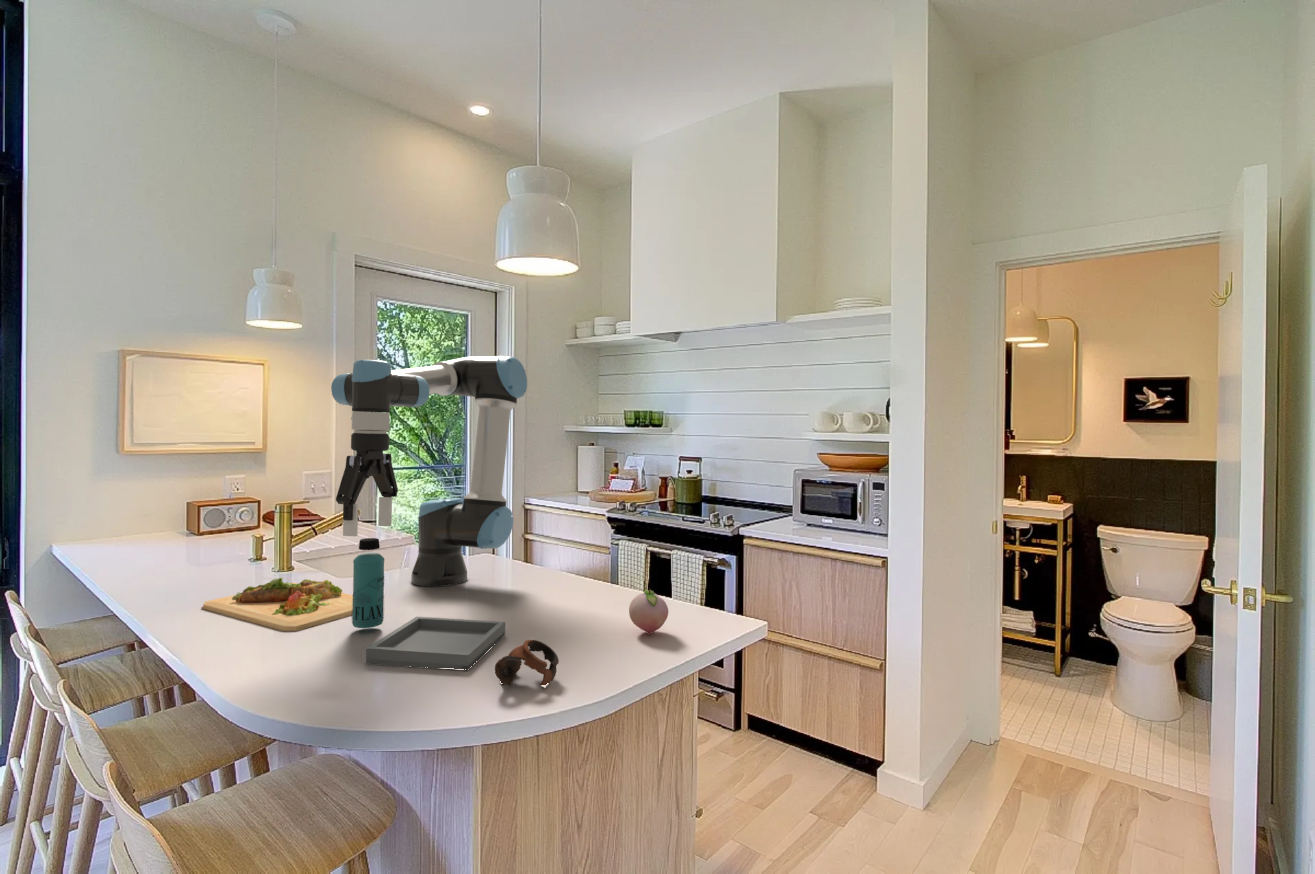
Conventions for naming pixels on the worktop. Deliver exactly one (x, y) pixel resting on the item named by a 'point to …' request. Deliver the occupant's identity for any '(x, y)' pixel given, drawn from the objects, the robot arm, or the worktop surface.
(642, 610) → the decorative fruit
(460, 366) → the robot arm
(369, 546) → the beverage bottle
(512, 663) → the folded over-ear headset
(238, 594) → the cutting board
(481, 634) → the tray
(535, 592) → the worktop surface
